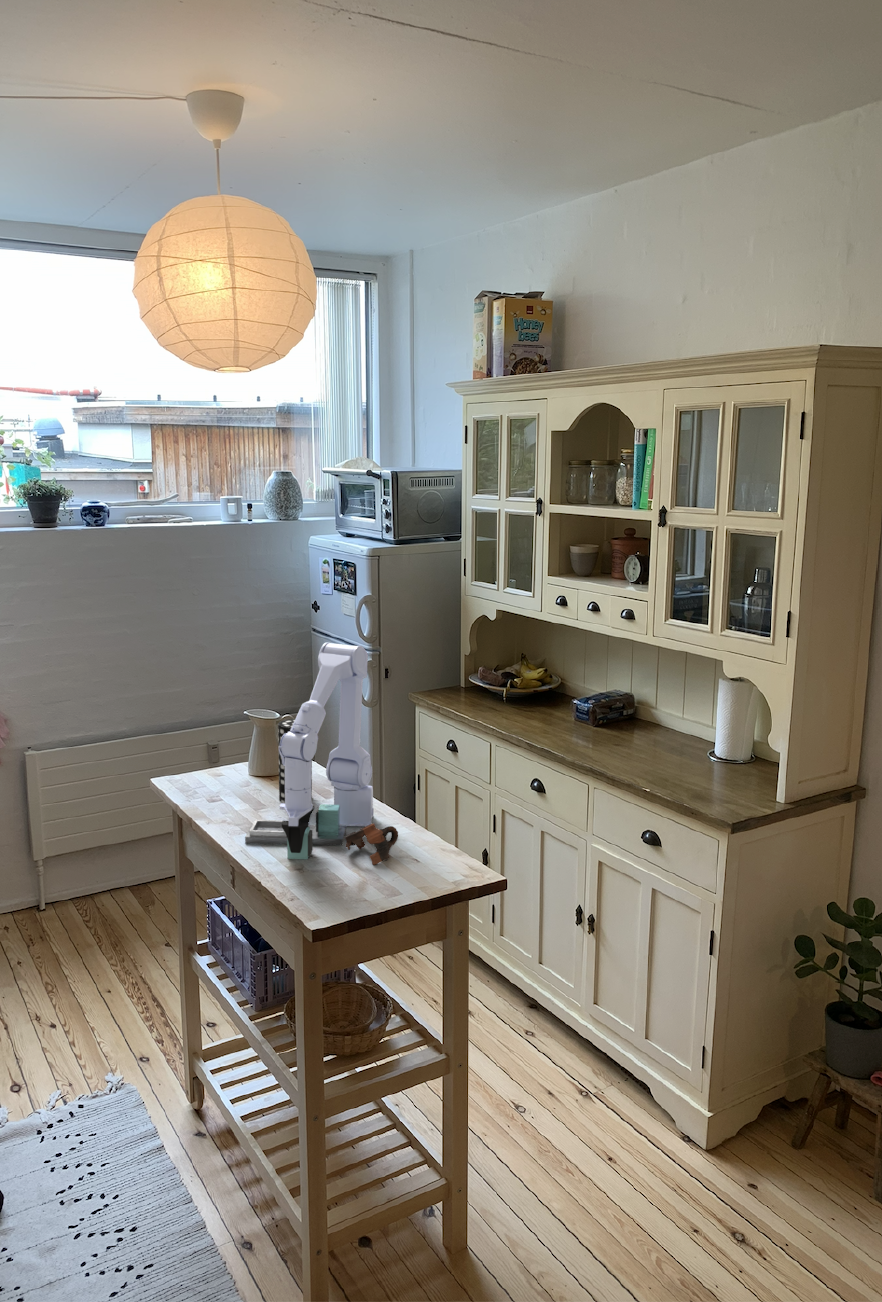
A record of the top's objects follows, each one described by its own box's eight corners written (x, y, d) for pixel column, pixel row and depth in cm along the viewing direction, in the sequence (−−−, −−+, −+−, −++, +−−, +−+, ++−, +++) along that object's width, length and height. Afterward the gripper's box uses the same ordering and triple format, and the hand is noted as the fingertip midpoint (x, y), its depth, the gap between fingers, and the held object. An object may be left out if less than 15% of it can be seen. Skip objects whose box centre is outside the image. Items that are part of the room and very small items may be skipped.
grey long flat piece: (346, 831, 227) (346, 801, 226) (342, 845, 219) (342, 814, 218) (252, 829, 227) (251, 799, 226) (245, 843, 220) (244, 812, 218)
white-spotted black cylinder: (293, 807, 242) (292, 730, 238) (272, 798, 248) (271, 723, 244) (318, 799, 248) (318, 723, 244) (298, 791, 254) (297, 717, 250)
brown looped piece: (363, 872, 207) (347, 836, 208) (350, 874, 216) (335, 840, 216) (411, 847, 213) (395, 813, 213) (396, 851, 221) (381, 817, 222)
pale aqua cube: (287, 858, 212) (287, 833, 211) (290, 852, 215) (289, 826, 214) (310, 859, 212) (310, 833, 211) (312, 852, 215) (312, 827, 214)
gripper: (285, 775, 217) (285, 832, 220) (273, 797, 203) (274, 858, 206) (316, 775, 217) (316, 832, 220) (307, 798, 203) (307, 859, 206)
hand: (298, 845), depth 213 cm, fingers open, 7 cm apart
